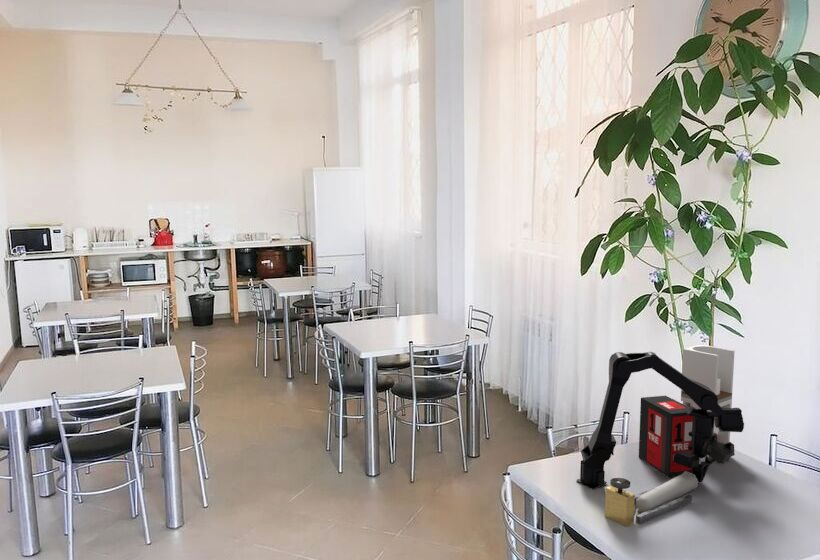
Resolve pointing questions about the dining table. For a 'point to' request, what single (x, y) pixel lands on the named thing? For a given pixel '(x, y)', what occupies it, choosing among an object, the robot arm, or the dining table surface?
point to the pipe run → (624, 502)
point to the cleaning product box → (664, 434)
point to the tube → (667, 492)
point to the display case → (710, 376)
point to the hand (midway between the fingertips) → (699, 481)
